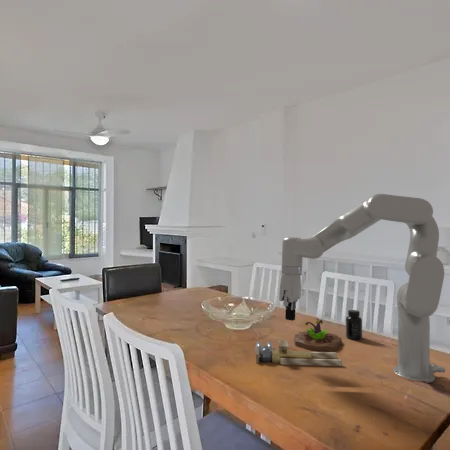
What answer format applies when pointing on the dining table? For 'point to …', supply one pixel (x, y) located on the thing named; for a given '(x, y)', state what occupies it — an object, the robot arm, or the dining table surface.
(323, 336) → the plant
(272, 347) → the v block
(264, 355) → the dark grey short cylinder
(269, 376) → the dining table surface
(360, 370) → the dining table surface
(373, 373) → the dining table surface
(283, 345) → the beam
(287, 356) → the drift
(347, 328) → the supplement bottle
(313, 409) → the dining table surface
